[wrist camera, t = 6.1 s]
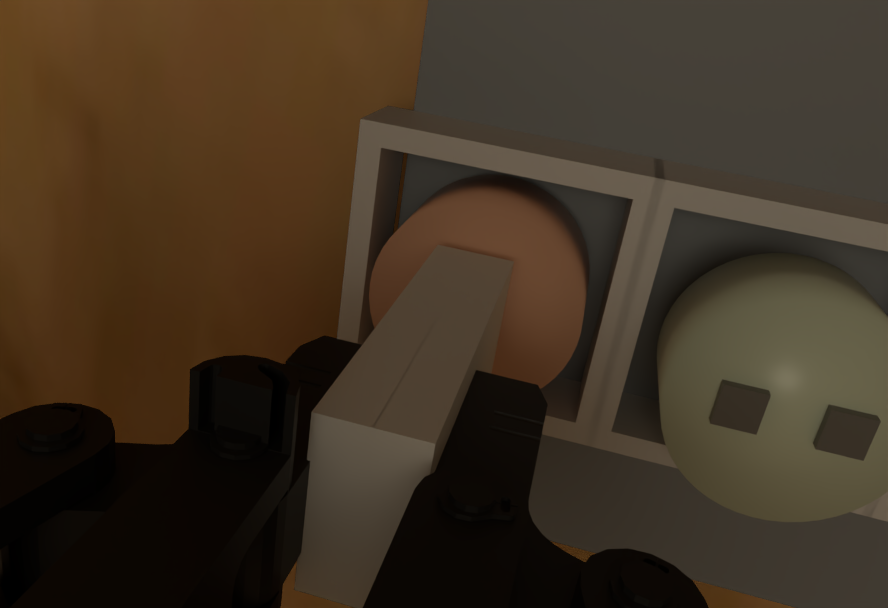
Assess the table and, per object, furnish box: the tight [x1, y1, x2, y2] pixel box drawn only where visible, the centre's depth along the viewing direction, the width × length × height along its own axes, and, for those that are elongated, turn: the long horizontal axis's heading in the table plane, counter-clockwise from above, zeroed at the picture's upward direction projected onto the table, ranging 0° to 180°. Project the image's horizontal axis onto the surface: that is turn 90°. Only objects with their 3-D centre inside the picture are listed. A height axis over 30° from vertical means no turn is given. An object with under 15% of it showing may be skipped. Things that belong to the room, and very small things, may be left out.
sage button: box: [657, 253, 888, 522], centre depth 15 cm, size 4×4×3 cm
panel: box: [337, 0, 888, 608], centre depth 18 cm, size 18×15×4 cm
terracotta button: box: [369, 175, 590, 389], centre depth 17 cm, size 4×4×3 cm
